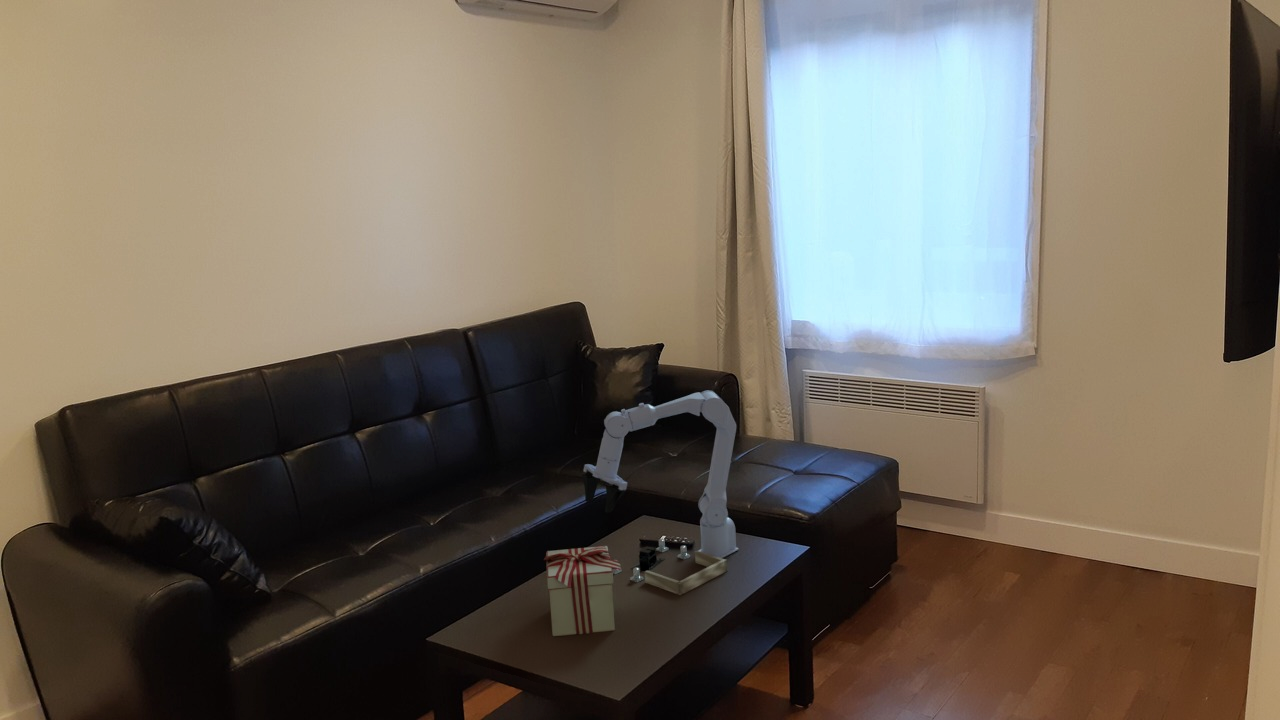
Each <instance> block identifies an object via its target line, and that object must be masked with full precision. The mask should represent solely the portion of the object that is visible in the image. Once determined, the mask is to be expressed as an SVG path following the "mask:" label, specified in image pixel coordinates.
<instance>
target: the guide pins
mask: <svg viewBox="0 0 1280 720" xmlns="http://www.w3.org/2000/svg"><path fill="white" fill-rule="evenodd" d="M655 548H656V547H655ZM679 549H680V553H679V554H677V558H678V559H681V560H687V559H689V558H690V557H691V554H689V553H688V552H687V545H683V544H682V545H680V548H679ZM667 551H669V547H667V546H666V543H665V539H664V538H659V539H658V547H657V548H656V552H659V553H664V552H667ZM614 560H615V561H618V559H614ZM612 571H613V575H617V574H619V573H622V572H623V570H622V568H621V570H617V569H612ZM632 571H633V576H631V577H629V579H630V581H632V582H635V583H639V582H641V581H643V580H645V577H644V576H642V575H641V574H640V572H641V571H639V568H638V567H635V568H633V569H632Z"/></svg>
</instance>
